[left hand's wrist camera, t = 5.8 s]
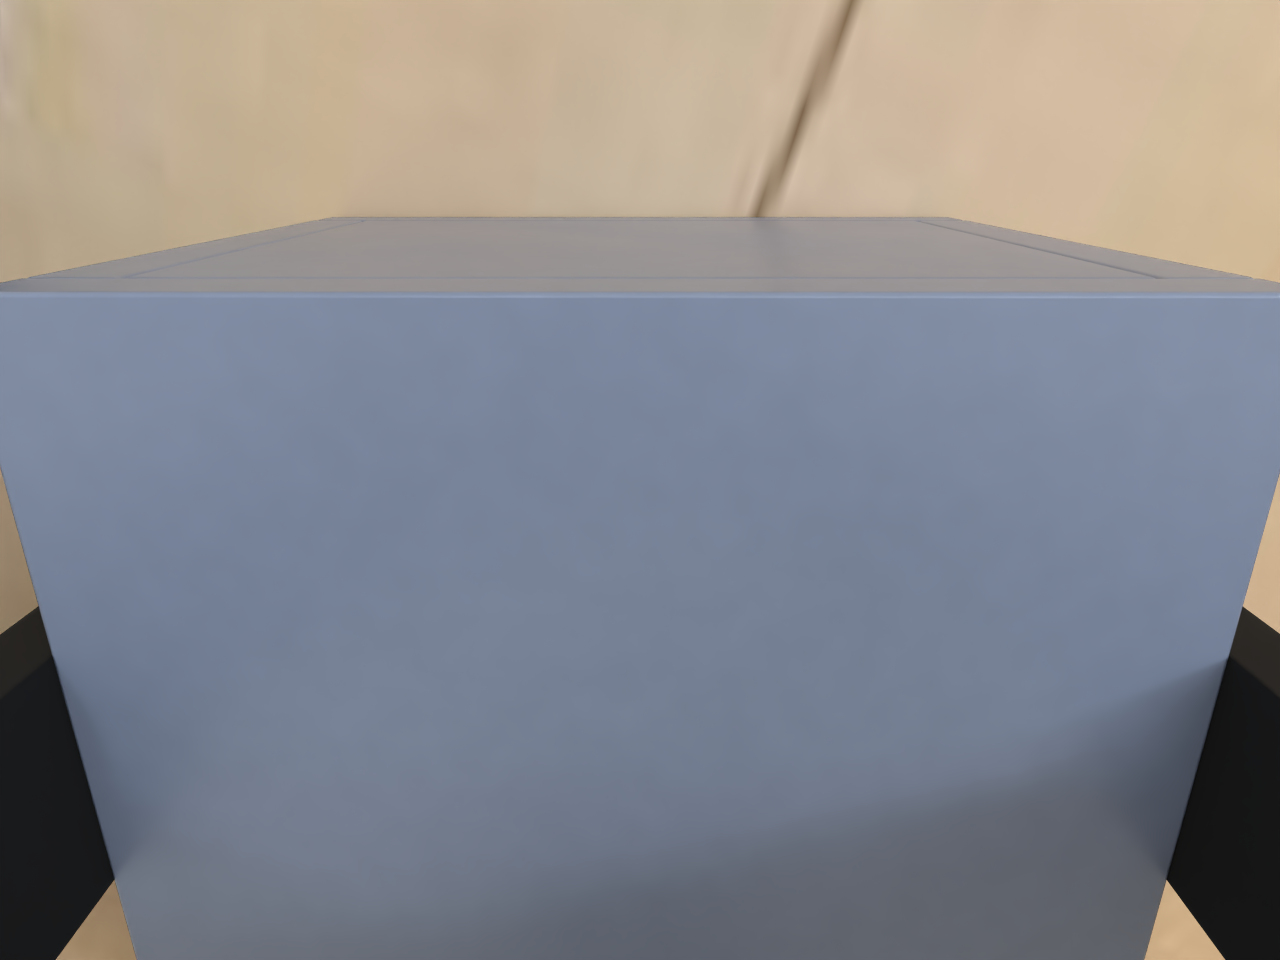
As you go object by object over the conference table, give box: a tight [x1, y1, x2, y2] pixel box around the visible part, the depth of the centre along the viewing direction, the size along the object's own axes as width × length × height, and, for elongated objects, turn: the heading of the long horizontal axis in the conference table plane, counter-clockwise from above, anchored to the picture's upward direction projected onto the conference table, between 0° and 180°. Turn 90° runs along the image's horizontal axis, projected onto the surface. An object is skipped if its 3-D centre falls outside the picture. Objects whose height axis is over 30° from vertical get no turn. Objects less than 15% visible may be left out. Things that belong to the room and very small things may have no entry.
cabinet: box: [0, 217, 1280, 960], centre depth 14 cm, size 17×11×9 cm, turn 0°
